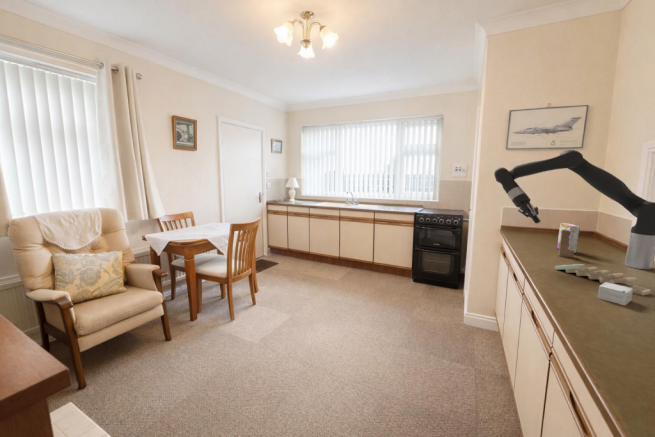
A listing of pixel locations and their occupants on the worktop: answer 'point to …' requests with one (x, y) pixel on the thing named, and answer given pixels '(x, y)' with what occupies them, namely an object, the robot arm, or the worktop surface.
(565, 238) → the wooden block
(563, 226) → the candy bar box
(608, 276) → the domino
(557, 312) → the worktop surface
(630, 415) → the worktop surface
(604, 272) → the domino
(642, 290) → the domino
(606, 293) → the small box
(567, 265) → the domino
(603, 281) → the domino
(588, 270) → the domino
